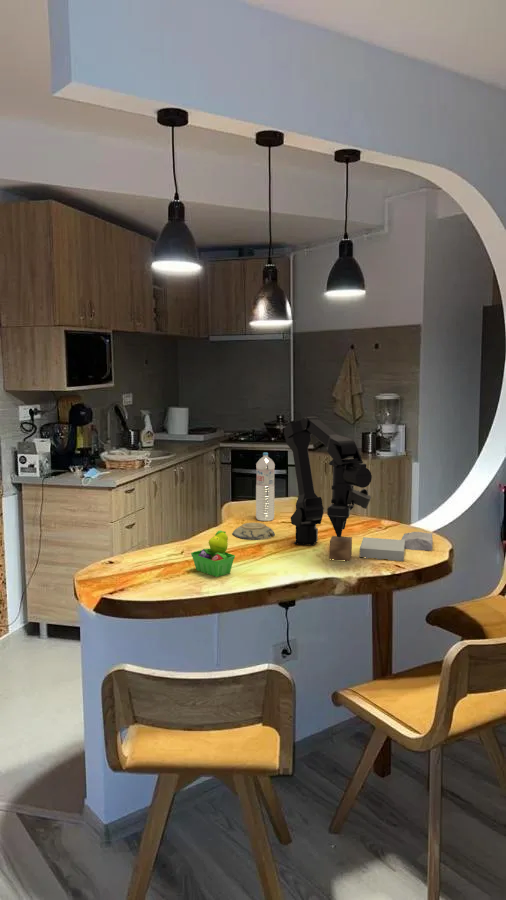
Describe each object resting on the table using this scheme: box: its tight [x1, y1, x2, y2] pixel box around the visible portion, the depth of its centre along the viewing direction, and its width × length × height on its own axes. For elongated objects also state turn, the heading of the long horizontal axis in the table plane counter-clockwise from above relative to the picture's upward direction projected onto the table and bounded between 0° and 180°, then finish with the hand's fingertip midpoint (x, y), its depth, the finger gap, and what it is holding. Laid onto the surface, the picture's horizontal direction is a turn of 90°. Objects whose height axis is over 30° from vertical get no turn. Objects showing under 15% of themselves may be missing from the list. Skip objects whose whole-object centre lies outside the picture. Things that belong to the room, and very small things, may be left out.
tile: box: [359, 536, 406, 562], centre depth 213 cm, size 13×13×3 cm
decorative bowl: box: [231, 522, 276, 541], centre depth 235 cm, size 15×4×15 cm
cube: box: [328, 535, 353, 562], centre depth 208 cm, size 6×6×6 cm
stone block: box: [401, 531, 434, 552], centre depth 222 cm, size 12×5×10 cm
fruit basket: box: [190, 529, 236, 578], centre depth 194 cm, size 11×9×11 cm
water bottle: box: [255, 452, 276, 522], centre depth 255 cm, size 7×7×25 cm
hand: (340, 532), depth 207 cm, fingers open, 9 cm apart
